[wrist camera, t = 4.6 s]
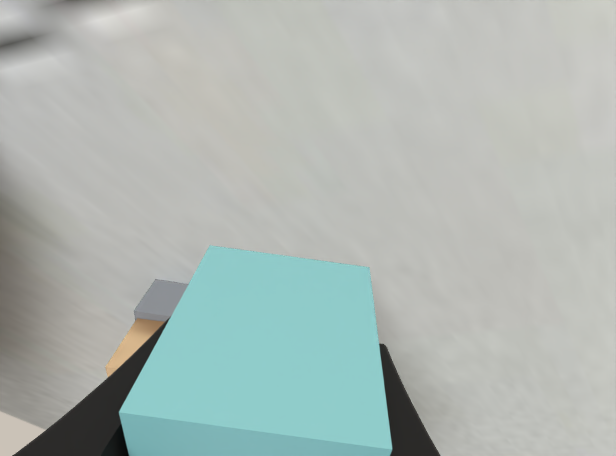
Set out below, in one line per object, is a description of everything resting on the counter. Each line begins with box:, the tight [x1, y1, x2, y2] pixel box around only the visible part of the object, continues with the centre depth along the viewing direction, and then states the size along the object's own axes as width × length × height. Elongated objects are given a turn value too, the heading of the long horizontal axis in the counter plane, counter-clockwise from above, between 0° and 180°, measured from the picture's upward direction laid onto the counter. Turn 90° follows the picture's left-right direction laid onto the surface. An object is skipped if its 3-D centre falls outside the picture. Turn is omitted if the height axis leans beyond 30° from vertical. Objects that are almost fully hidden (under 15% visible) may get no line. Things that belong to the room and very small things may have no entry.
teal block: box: [119, 246, 392, 456], centre depth 9 cm, size 4×4×5 cm
